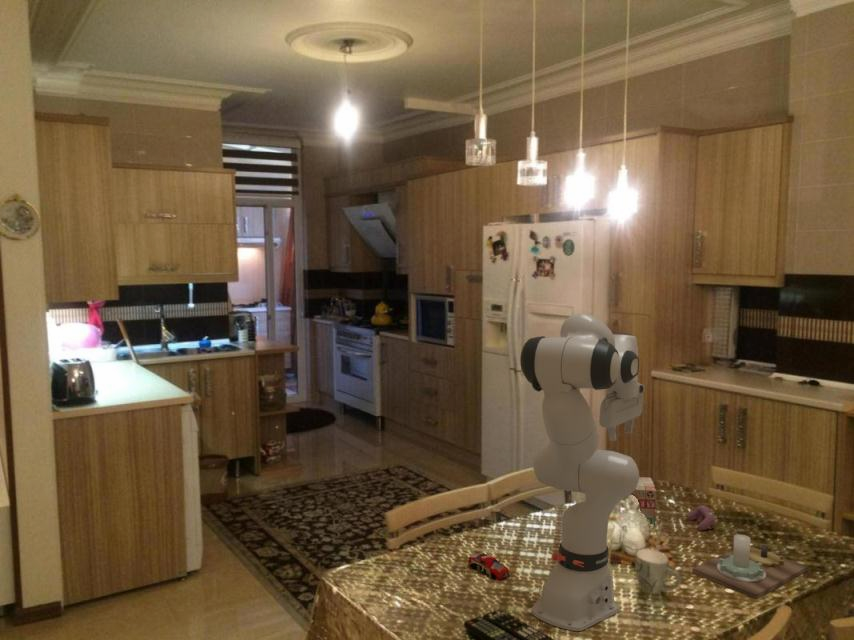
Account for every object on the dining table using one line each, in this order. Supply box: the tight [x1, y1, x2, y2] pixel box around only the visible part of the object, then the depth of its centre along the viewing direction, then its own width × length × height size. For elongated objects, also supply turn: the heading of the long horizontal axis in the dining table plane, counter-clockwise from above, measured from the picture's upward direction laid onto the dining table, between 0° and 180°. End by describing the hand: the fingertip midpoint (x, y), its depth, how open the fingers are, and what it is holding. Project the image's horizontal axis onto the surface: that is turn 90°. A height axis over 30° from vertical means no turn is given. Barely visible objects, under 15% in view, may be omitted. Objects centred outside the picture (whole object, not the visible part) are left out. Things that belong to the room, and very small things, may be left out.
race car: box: [468, 552, 510, 581], centre depth 192 cm, size 13×5×4 cm, turn 39°
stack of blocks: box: [631, 476, 657, 526], centre depth 231 cm, size 21×6×12 cm, turn 169°
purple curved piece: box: [686, 504, 717, 532], centre depth 222 cm, size 10×5×7 cm, turn 1°
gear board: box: [691, 544, 809, 600], centre depth 190 cm, size 26×18×5 cm
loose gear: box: [719, 534, 764, 580], centre depth 187 cm, size 11×11×9 cm
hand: (620, 436), depth 200 cm, fingers open, 8 cm apart
